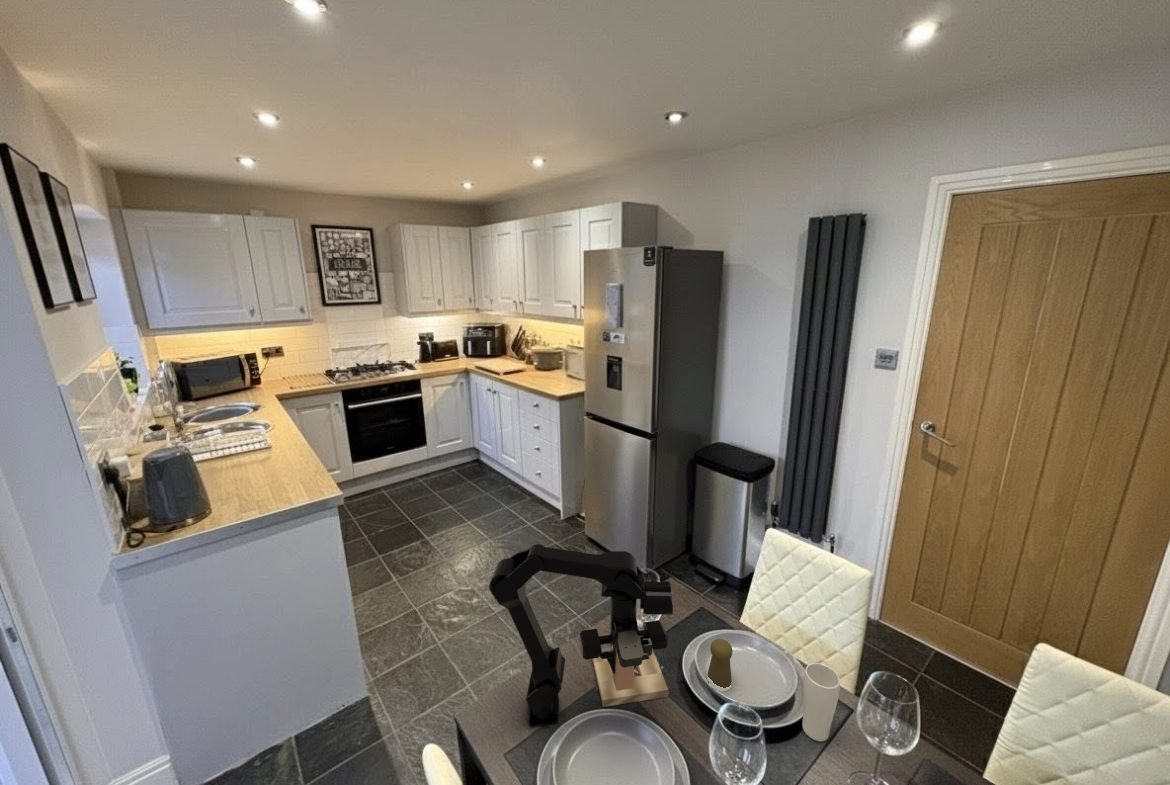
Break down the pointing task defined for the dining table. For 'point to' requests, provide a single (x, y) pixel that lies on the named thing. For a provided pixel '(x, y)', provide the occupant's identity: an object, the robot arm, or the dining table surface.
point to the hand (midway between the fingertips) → (623, 670)
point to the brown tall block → (622, 674)
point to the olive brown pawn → (720, 663)
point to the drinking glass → (819, 700)
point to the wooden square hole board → (644, 685)
